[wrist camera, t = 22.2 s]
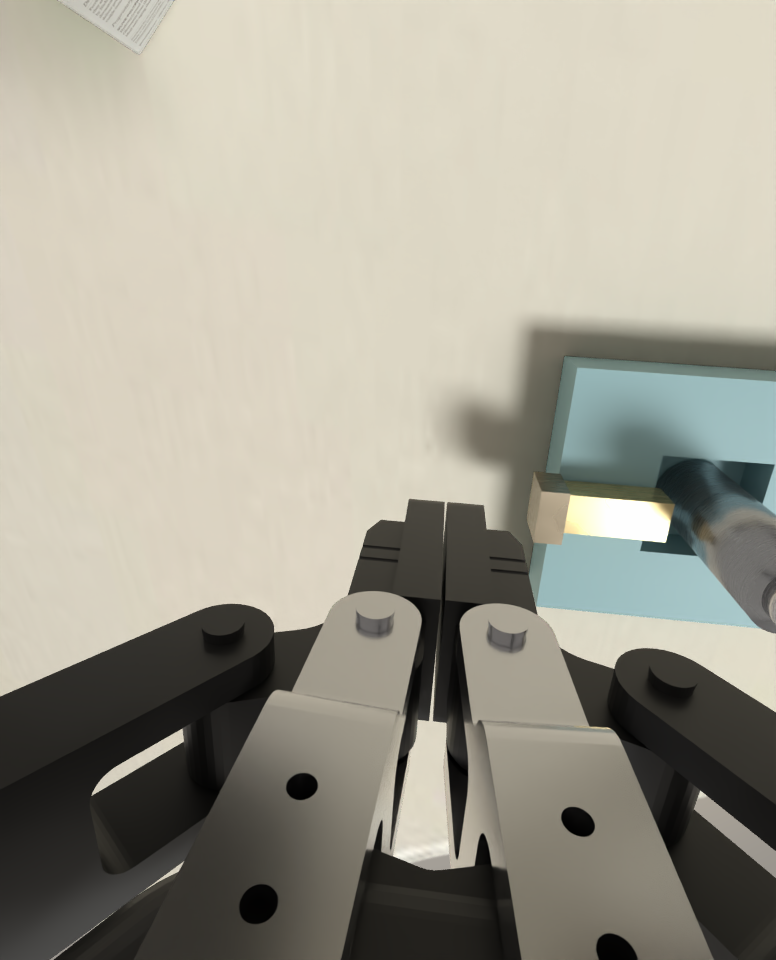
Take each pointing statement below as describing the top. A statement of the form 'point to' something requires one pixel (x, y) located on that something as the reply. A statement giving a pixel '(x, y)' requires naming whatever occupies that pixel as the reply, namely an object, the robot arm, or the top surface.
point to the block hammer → (595, 510)
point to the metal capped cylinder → (727, 534)
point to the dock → (652, 479)
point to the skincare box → (123, 18)
